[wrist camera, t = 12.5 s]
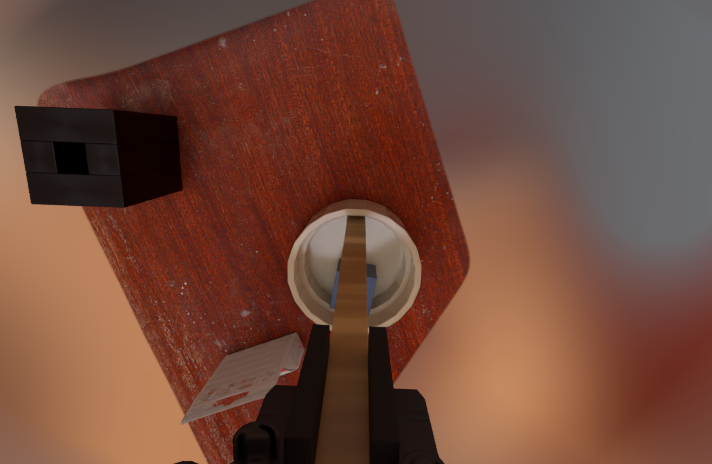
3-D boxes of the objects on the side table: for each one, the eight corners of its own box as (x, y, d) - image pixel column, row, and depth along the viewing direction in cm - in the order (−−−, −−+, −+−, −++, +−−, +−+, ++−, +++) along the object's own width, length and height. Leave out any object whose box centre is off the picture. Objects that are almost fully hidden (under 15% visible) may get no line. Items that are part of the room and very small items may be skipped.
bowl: (298, 196, 39) (287, 206, 34) (417, 200, 39) (426, 211, 34) (298, 305, 43) (288, 332, 37) (408, 310, 42) (415, 337, 37)
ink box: (307, 348, 44) (288, 420, 33) (234, 372, 45) (192, 449, 34) (297, 327, 43) (275, 392, 32) (224, 351, 44) (177, 424, 33)
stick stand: (103, 113, 38) (13, 105, 28) (177, 116, 38) (113, 109, 28) (112, 187, 40) (30, 204, 30) (182, 190, 40) (124, 207, 30)
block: (339, 258, 40) (336, 271, 37) (375, 265, 41) (377, 278, 37) (332, 292, 41) (329, 308, 38) (368, 298, 42) (368, 315, 38)
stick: (347, 214, 38) (300, 558, 9) (365, 215, 38) (373, 561, 9) (347, 231, 38) (301, 603, 10) (364, 232, 38) (370, 606, 10)
